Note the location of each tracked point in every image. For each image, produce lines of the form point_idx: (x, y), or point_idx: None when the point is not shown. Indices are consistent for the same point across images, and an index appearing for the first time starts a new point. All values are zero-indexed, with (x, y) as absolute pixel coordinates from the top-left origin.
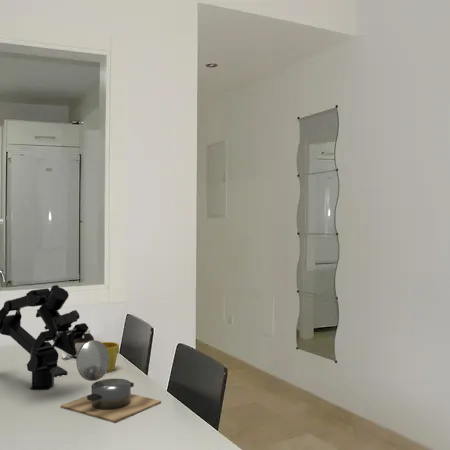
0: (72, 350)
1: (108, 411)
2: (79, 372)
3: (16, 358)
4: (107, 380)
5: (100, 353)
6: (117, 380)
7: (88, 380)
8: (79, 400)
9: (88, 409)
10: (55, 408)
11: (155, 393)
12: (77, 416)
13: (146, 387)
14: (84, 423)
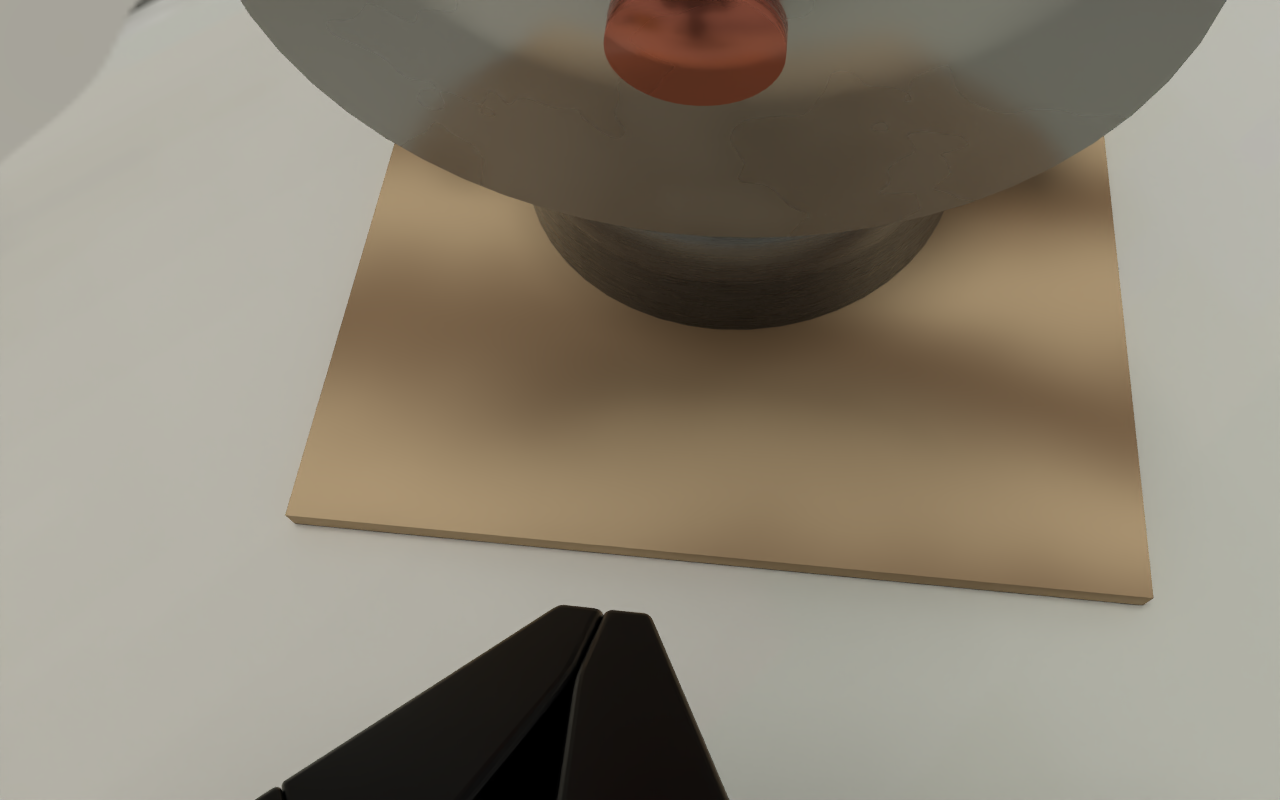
0: (635, 676)
1: None
2: (1090, 129)
3: None
4: None
5: None
6: None
7: (843, 230)
8: (860, 509)
9: (1024, 212)
10: (1214, 639)
11: (253, 40)
12: (1196, 224)
13: (85, 207)
14: (1267, 58)
